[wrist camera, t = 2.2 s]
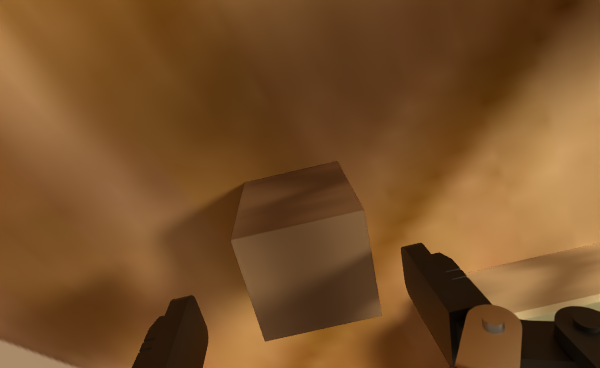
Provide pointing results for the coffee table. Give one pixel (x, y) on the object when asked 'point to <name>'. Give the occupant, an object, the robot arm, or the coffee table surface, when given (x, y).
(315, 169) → the walnut block
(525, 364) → the robot arm
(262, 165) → the coffee table surface
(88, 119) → the coffee table surface
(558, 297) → the block
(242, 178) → the coffee table surface
